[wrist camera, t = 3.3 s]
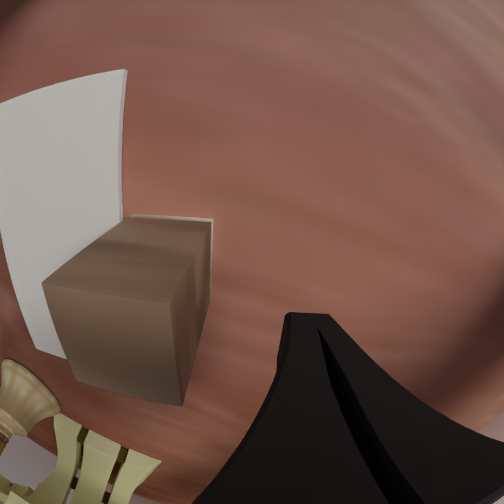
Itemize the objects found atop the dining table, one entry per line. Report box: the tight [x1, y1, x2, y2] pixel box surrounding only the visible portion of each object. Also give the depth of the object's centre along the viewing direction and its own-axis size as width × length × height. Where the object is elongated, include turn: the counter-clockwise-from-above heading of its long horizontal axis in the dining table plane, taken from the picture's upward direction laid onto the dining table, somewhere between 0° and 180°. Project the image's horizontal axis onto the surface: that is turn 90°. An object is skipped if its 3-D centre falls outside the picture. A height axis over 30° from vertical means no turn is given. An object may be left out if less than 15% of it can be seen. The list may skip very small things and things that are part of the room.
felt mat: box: [0, 69, 128, 359], centre depth 13 cm, size 18×10×1 cm, turn 175°
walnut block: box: [41, 214, 213, 406], centre depth 10 cm, size 4×4×7 cm
